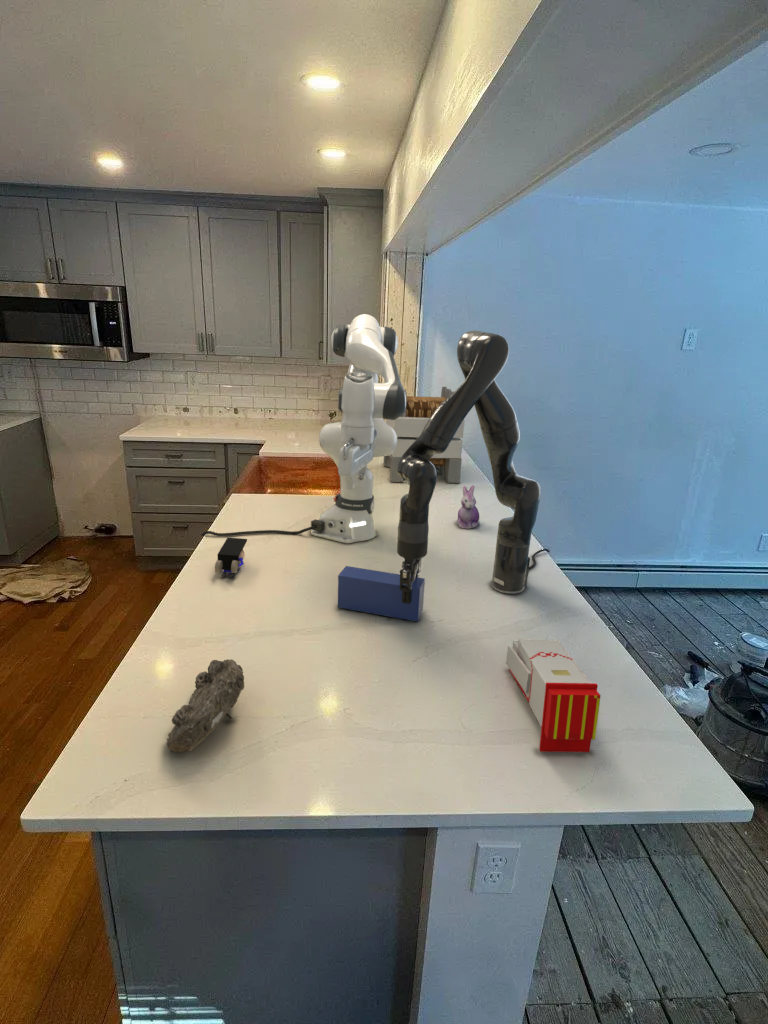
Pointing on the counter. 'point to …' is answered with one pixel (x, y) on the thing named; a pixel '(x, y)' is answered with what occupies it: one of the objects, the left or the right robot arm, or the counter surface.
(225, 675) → the fossil
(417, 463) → the right robot arm
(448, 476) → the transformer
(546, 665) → the toy
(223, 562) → the figurine character
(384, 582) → the box
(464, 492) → the figurine
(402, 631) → the counter surface
